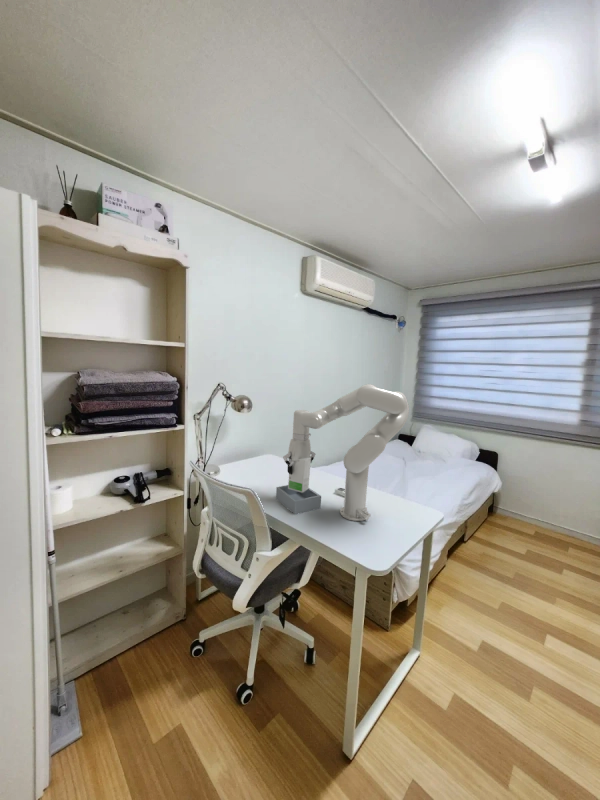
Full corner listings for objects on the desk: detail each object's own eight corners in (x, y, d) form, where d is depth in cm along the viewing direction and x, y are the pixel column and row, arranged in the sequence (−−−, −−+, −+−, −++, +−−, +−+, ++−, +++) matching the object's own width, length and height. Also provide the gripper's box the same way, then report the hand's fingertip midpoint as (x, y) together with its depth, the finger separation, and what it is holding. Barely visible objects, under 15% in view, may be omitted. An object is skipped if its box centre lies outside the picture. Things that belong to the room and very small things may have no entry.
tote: (320, 508, 143) (321, 495, 142) (294, 514, 135) (295, 501, 135) (300, 493, 158) (300, 482, 157) (276, 498, 150) (276, 487, 150)
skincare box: (287, 489, 145) (288, 457, 143) (294, 484, 151) (295, 453, 149) (303, 493, 141) (304, 460, 139) (309, 488, 147) (311, 456, 145)
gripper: (311, 433, 151) (309, 467, 153) (280, 436, 142) (278, 472, 144) (320, 437, 145) (318, 472, 146) (288, 440, 135) (286, 477, 137)
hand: (298, 472), depth 145 cm, fingers closed on skincare box, 9 cm apart
